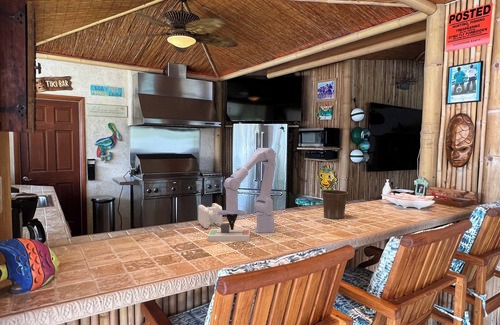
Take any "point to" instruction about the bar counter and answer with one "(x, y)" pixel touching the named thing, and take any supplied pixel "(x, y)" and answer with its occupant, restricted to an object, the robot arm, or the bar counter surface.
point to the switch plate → (229, 235)
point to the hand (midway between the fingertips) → (232, 229)
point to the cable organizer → (209, 215)
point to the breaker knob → (225, 227)
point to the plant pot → (334, 203)
